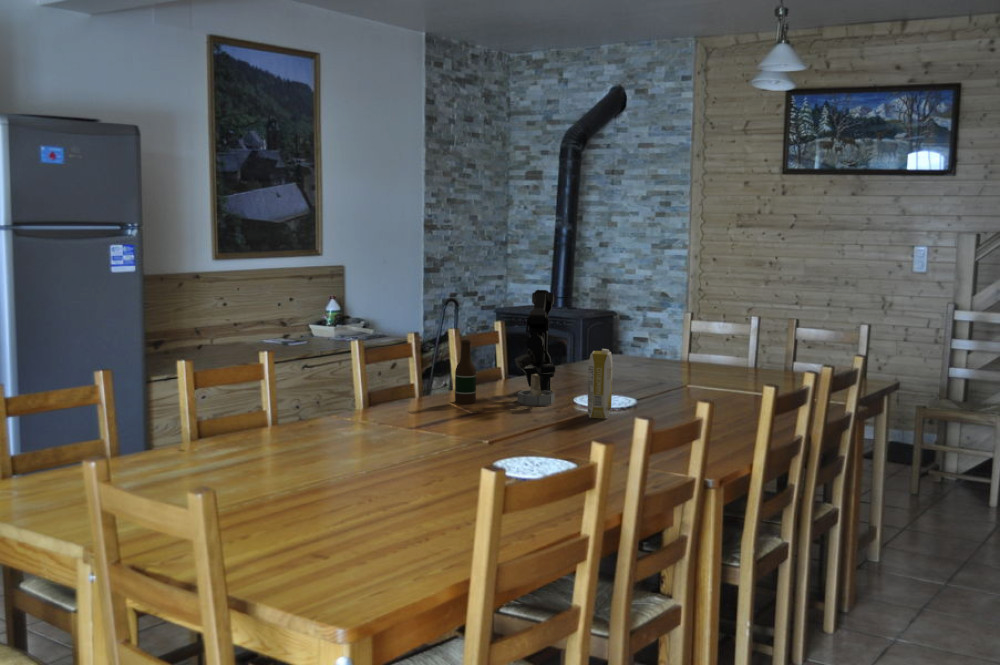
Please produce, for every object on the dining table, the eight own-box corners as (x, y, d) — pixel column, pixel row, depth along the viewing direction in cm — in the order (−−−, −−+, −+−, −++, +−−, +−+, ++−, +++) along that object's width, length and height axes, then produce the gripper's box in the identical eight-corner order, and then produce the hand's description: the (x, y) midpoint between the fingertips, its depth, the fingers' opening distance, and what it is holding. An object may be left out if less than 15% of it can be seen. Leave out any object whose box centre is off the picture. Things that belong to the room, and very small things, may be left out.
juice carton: (609, 419, 342) (611, 351, 339) (586, 418, 344) (588, 350, 341) (611, 414, 351) (613, 347, 349) (589, 413, 353) (591, 346, 350)
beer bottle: (476, 402, 371) (477, 338, 368) (474, 406, 363) (475, 341, 360) (456, 401, 371) (457, 338, 368) (453, 405, 364) (454, 340, 361)
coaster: (503, 396, 382) (503, 395, 382) (513, 400, 374) (513, 399, 374) (482, 398, 378) (482, 396, 378) (492, 402, 370) (492, 401, 370)
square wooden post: (537, 400, 372) (538, 374, 371) (541, 401, 369) (541, 375, 368) (530, 400, 371) (531, 374, 370) (534, 402, 368) (534, 375, 367)
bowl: (542, 399, 379) (542, 388, 378) (559, 405, 367) (559, 394, 367) (512, 401, 373) (512, 391, 373) (528, 407, 362) (529, 397, 361)
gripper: (506, 345, 372) (505, 386, 374) (529, 351, 356) (529, 394, 358) (532, 343, 377) (531, 384, 379) (556, 350, 361) (555, 392, 363)
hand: (536, 388), depth 370 cm, fingers open, 9 cm apart
